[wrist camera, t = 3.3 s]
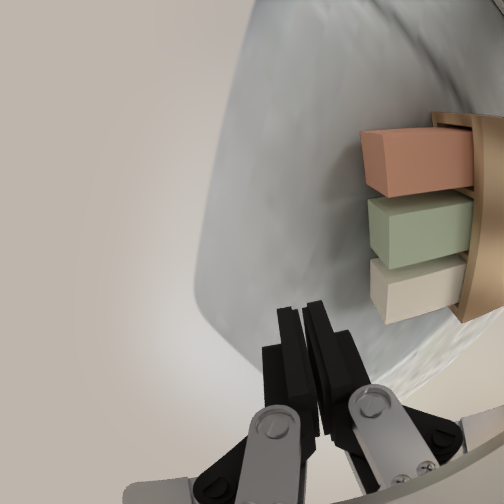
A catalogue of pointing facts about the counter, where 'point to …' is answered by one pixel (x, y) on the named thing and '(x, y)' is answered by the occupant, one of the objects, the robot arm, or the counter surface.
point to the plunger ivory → (416, 287)
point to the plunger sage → (420, 226)
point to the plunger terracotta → (418, 159)
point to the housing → (482, 215)
